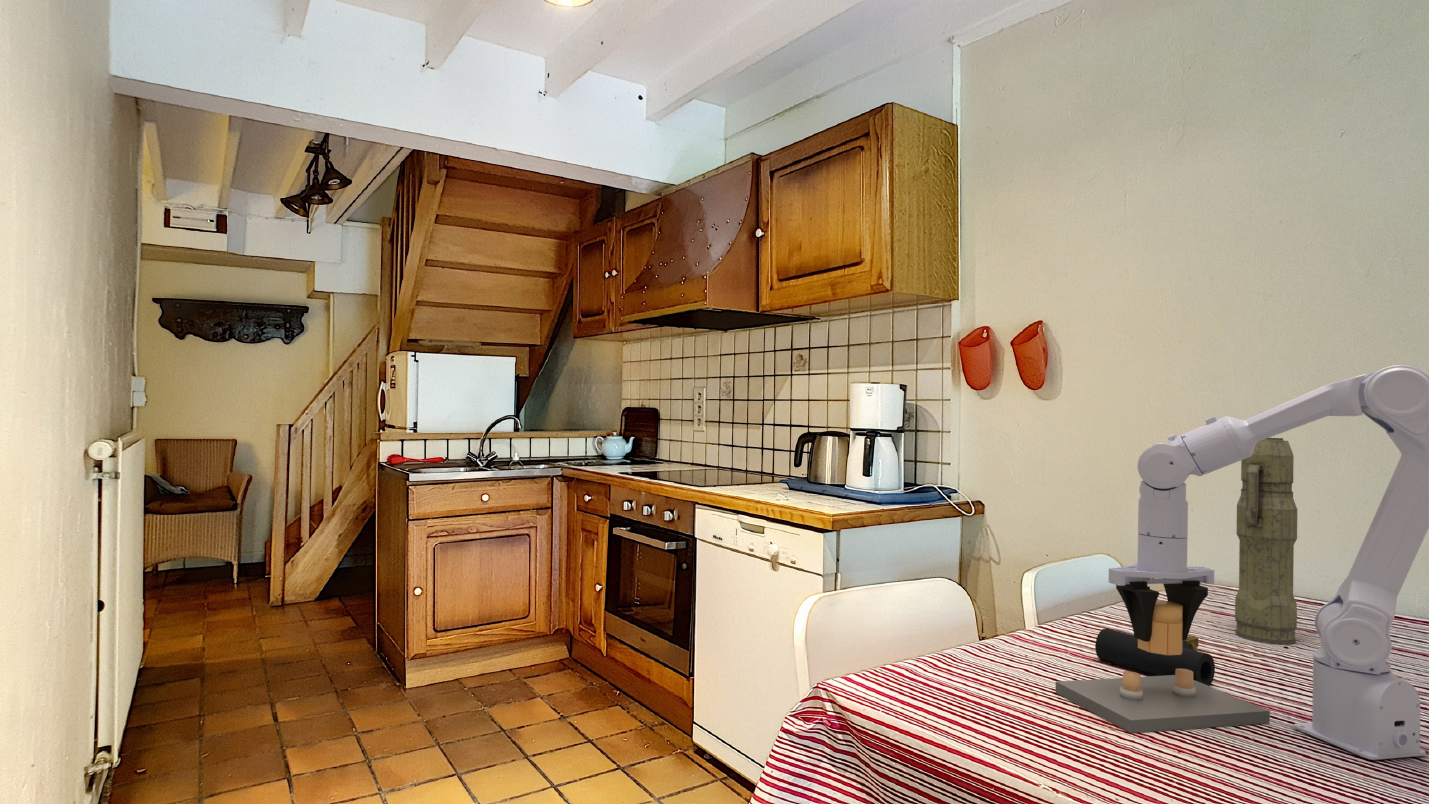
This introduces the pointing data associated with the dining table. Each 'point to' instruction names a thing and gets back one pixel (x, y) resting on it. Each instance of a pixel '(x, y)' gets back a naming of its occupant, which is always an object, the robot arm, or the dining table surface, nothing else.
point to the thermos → (1267, 545)
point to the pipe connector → (1154, 656)
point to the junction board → (1160, 702)
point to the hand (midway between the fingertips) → (1160, 638)
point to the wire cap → (1165, 629)
